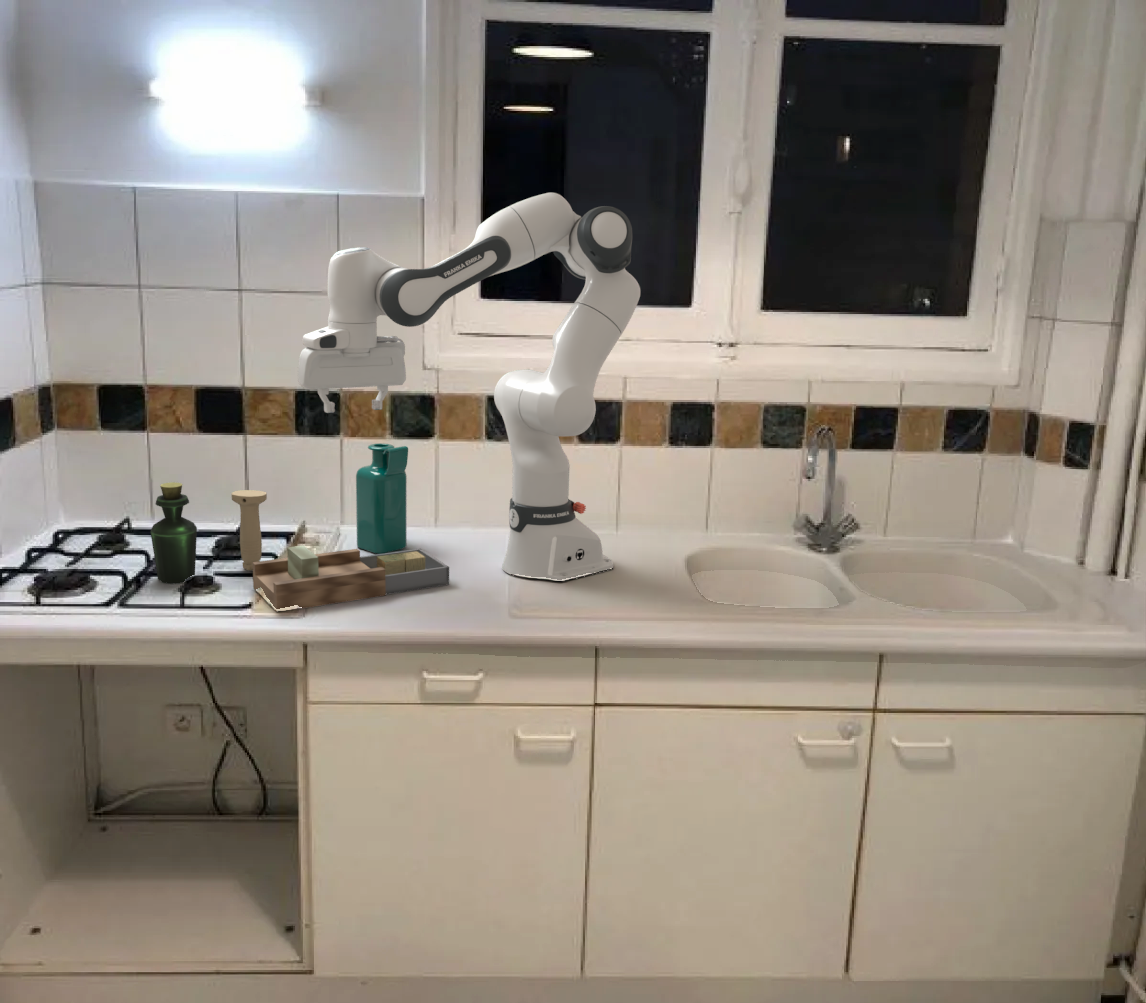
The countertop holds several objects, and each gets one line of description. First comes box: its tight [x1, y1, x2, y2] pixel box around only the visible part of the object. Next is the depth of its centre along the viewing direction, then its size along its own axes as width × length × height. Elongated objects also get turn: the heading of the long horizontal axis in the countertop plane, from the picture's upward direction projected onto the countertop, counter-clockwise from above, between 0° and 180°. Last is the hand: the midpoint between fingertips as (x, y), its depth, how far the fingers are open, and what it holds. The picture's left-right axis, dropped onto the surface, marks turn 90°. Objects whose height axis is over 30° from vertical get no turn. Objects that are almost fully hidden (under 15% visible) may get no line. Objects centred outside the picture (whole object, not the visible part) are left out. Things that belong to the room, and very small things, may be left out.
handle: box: [230, 489, 268, 571], centre depth 208 cm, size 5×6×15 cm
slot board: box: [252, 548, 387, 609], centre depth 198 cm, size 20×14×5 cm
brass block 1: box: [377, 554, 405, 575], centre depth 205 cm, size 4×4×4 cm
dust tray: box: [360, 548, 450, 595], centre depth 207 cm, size 13×13×4 cm
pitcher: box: [355, 442, 409, 555], centre depth 224 cm, size 10×8×22 cm
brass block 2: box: [398, 551, 425, 572], centre depth 207 cm, size 4×4×4 cm
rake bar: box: [286, 545, 319, 579], centre depth 196 cm, size 3×8×5 cm, turn 32°
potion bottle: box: [150, 481, 198, 585], centre depth 201 cm, size 8×8×18 cm
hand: (353, 410), depth 205 cm, fingers open, 8 cm apart
